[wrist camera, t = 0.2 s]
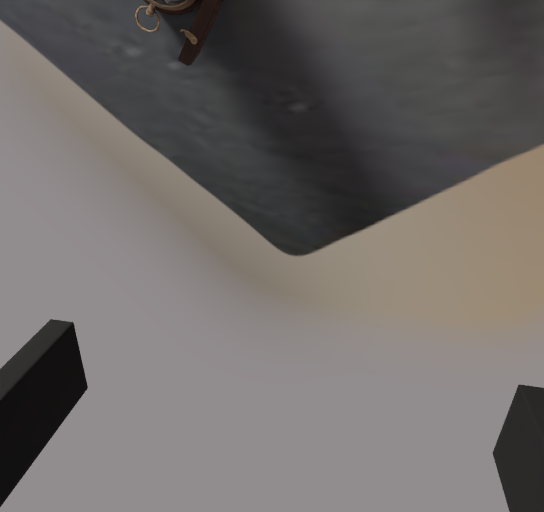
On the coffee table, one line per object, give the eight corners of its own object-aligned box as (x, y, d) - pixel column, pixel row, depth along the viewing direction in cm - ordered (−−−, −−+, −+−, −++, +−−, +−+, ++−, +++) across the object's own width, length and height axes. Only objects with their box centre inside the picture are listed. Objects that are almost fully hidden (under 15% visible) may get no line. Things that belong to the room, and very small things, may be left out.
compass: (141, -118, 28) (86, -95, 23) (250, -38, 30) (221, -1, 25) (109, 0, 34) (59, 39, 29) (203, 61, 36) (172, 107, 31)
